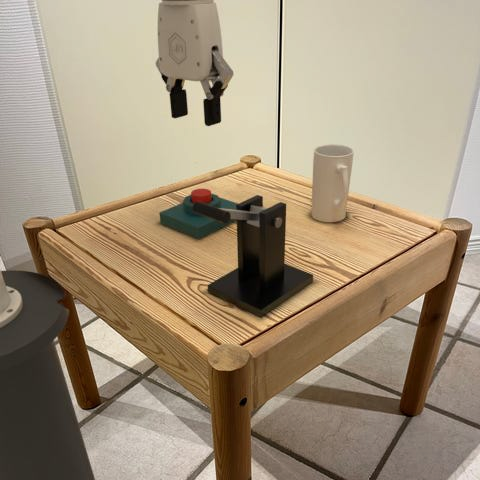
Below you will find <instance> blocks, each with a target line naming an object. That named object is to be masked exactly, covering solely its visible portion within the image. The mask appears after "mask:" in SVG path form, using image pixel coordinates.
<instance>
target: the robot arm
mask: <svg viewBox="0 0 480 480" xmlns="http://www.w3.org/2000/svg"><path fill="white" fill-rule="evenodd" d="M157 9H158V10H157V49H158V50H157V51H158V58H157V59H156V61H155V67H156V68H157V70H158V72H159V75H161V80H162V81H163V82H164V84H165V89H166V91H167V93H169V104H170V114H171V118H172V119H179V118H182V117H186V116H187V115H189V108H188V95H187V89H185V88H184V87H185V86H184V85H185V82H186V81H190V82H200V84H201V87H202V90H203V92H204V95H205V97H206V98H204V99H203V101H202V102H203V119H204V121H203V122H204V125H205V126H206V127H211V126H215V125H217V124H220V123H221V122H222V105H221V104H222V103H221V97H223V96H224V93H225V91H226V90H227V88H228V86H229V83H230V81H231V80H232V79H233V77H234V71H233V69H232V67H231V66H230V65H229V64H228V62H227V61H226V59H225V58H224V53H223V49H224V48H223V39H222V30H221V23H220V17H219V16H220V15H219V11H218V6H217V3H216V2H215V0H161V2H159V3H158V8H157ZM210 82H211V83H210ZM211 84H212V86H211ZM1 271H2V270H1V269H0V328H2V327H3V326H5V325H7V324H8V323H10V322H11V321H12V320H13V319H15V318H16V317H17V315H18V314H19V313H20V311H21V310H22V307H23V300H22V297H21V295H20V293H19V292H18V291H17V290H15V289H13V288H11V287H8V286H6V285H5V282H4V279H3V276H2V273H1Z"/></svg>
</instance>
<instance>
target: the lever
mask: <svg viewBox="0 0 480 480" xmlns="http://www.w3.org/2000/svg"><path fill="white" fill-rule="evenodd" d="M267 208H268V207H265V206H263V207H262V206H253V205H251V207H250V211H243V210H233V209H223V208H216V207H214V206H211V205H208V204H205V203H202V202H199V201H196V202H195V203H194V204H193V212H194V213H197V214H200V215H202V216H205V217H208V218H210V219H213V220H216V221H219V222H221V223H224V224H226V223H228V222H229V221H230V219H238V220H247V223H248V224H251V225H254V226H257V227H259V213H260V212H261V211H263V210H265V209H267Z"/></svg>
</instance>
